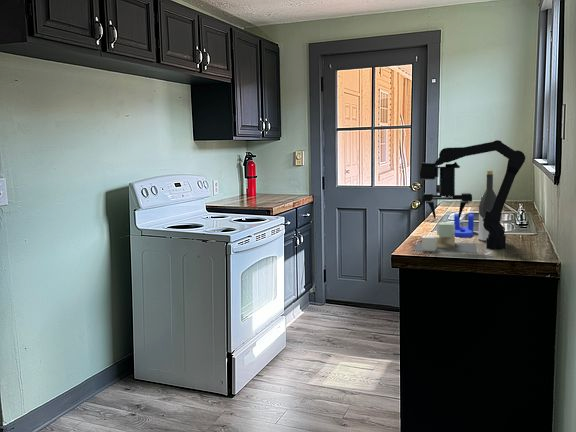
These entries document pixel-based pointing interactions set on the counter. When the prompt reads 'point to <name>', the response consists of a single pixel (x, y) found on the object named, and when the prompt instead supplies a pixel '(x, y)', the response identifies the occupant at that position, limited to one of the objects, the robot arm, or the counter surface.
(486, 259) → the counter surface
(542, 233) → the counter surface
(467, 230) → the bracket
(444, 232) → the sage cube
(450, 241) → the oak base block
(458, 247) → the mat
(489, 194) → the wine bottle
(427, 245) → the cream cube
